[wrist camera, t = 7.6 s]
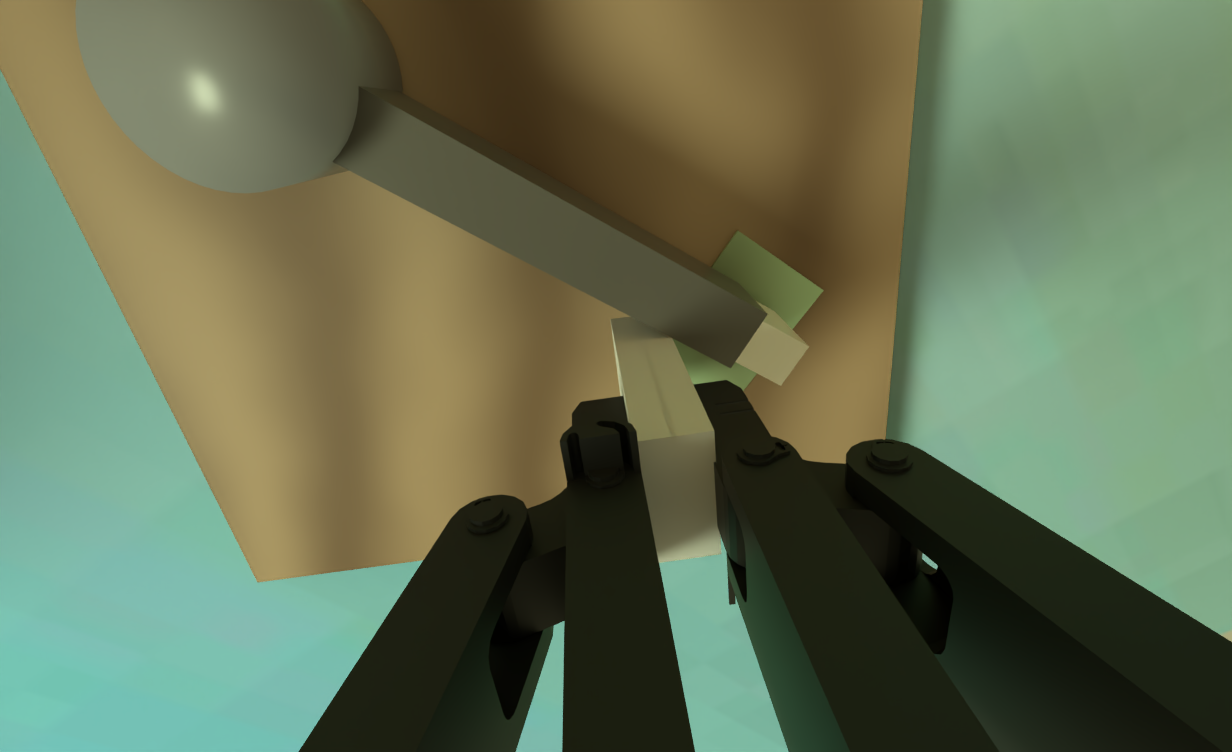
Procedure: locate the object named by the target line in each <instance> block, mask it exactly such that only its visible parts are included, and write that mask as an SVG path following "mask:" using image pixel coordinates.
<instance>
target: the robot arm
mask: <svg viewBox="0 0 1232 752" xmlns="http://www.w3.org/2000/svg"><path fill="white" fill-rule="evenodd" d="M610 320H611V327H612V335H613V343H614V350H615V358H616V366H617V373H618V381H619V389H620V396H618V397H611V398H604V399H596V400H589V401H582V402H580V403H579V405H578V406H577V407H576V409H575V410H574V411H573V413H572V426H571V427H570V428H569V429H568V430H567V431H565V432H564V433H563V434H562V437H561V439H560V447H561V453H562V458H563V463H564V469H565V474H566V480H567V487H566V488H565V489H564V490H563V491H562V492H561V493H560V494H558V495H557V496H555V497H554V498H552V499H551V500H548V501H546V502H544V503H542V504H539V505H536V506H533V507H531V508H528V509H527V508H526V506H525V504H524V502H523V501H522V500H520V499H518V498H516V497H515V496H509V495H502V494H501V495H492V496H486V497H482V498H479V499H477V500H474V501H472V502H470V503H469V504H467V505H465V506H464V507H462V508H460V509H459V510H458V511H457V512H456V513H455V514H454V515H453V517H452V518H451V519H450V520H449V522H448V523H447V525H446V526H445V528H444V530H443V531H442V533H441V534H440V536H439V537H438V539H437V540H436V542H435V543H434V545H433V546H432V548H431V549H430V551H429V553H428V554H427V556H426V557H425V559H424V560H423V562H422V563H421V565H420V566H419V568H418V569H417V571H416V572H415V574H414V576H413V577H412V579H411V580H410V582H409V583H408V585H407V586H406V588H405V589H404V591H403V592H402V594H401V596H400V597H399V599H398V600H397V602H396V603H395V605H394V606H393V608H392V609H391V611H390V612H389V614H388V615H387V617H386V619H385V620H384V622H383V623H382V625H381V626H380V628H379V629H378V631H377V632H376V634H375V635H374V637H373V638H372V640H371V642H370V643H369V645H368V646H367V648H366V649H365V651H364V652H363V654H362V655H361V657H360V658H359V660H358V661H357V663H356V665H355V666H354V668H353V669H352V671H351V672H350V674H349V675H348V677H347V678H346V680H345V681H344V683H343V684H342V686H341V688H340V689H339V691H338V692H337V694H336V695H335V697H334V698H333V700H332V701H331V703H330V704H329V706H328V707H327V709H326V711H325V712H324V714H323V715H322V717H321V718H320V720H319V721H318V723H317V724H316V726H315V727H314V729H313V730H312V732H311V734H310V735H309V737H308V738H307V740H306V741H305V743H304V744H303V746H302V747H301V749H300V750H299V752H515V751H516V748H517V745H518V742H519V739H520V736H521V733H522V730H523V727H524V724H525V720H526V717H527V714H528V711H529V708H530V705H531V702H532V699H533V696H534V692H535V689H536V686H537V683H538V680H539V677H540V674H541V671H542V668H543V665H544V661H545V658H546V655H547V652H548V649H549V646H550V643H551V640H552V637H553V626H554V625H555V624H558V623H560V622H562V621H565V629H564V689H563V749H562V752H695V749H694V744H693V739H692V734H691V728H690V723H689V718H688V713H687V707H686V702H685V697H684V692H683V687H682V681H681V676H680V671H679V666H678V660H677V655H676V650H675V645H674V640H673V634H672V629H671V624H670V619H669V613H668V608H667V603H666V598H665V593H664V587H663V582H662V577H661V572H660V566H659V563H661V562H668V561H675V560H683V559H690V558H696V557H703V556H710V555H717V554H721V540H720V535H721V538H722V541H723V543H724V546H725V549H726V552H727V570H728V589H729V605H731V604H735V596H736V599H737V602H738V605H739V608H740V610H741V613H742V616H743V619H744V622H745V625H746V628H747V631H748V634H749V637H750V640H751V643H752V646H753V648H754V651H755V654H756V657H757V660H758V663H759V666H760V669H761V672H762V675H763V678H764V681H765V684H766V686H767V689H768V692H769V695H770V698H771V701H772V704H773V707H774V710H775V713H776V716H777V719H778V721H779V724H780V727H781V730H782V733H783V736H784V739H785V742H786V745H787V748H788V751H789V752H1232V642H1231V641H1229V640H1227V639H1226V638H1224V637H1223V636H1221V635H1219V634H1218V633H1216V632H1215V631H1213V630H1211V629H1210V628H1208V627H1206V626H1205V625H1203V624H1202V623H1200V622H1198V621H1197V620H1195V619H1194V618H1192V617H1190V616H1189V615H1187V614H1185V613H1184V612H1182V611H1181V610H1179V609H1177V608H1176V607H1174V606H1173V605H1171V604H1169V603H1168V602H1166V601H1165V600H1163V599H1161V598H1160V597H1158V596H1156V595H1155V594H1153V593H1152V592H1150V591H1148V590H1147V589H1145V588H1144V587H1142V586H1140V585H1139V584H1137V583H1135V582H1134V581H1132V580H1131V579H1129V578H1127V577H1126V576H1124V575H1123V574H1121V573H1119V572H1118V571H1116V570H1115V569H1113V568H1111V567H1110V566H1108V565H1106V564H1105V563H1103V562H1102V561H1100V560H1098V559H1097V558H1095V557H1094V556H1092V555H1090V554H1089V553H1087V552H1086V551H1084V550H1082V549H1081V548H1079V547H1077V546H1076V545H1074V544H1073V543H1071V542H1069V541H1068V540H1066V539H1065V538H1063V537H1061V536H1060V535H1058V534H1056V533H1055V532H1053V531H1052V530H1050V529H1048V528H1047V527H1045V526H1044V525H1042V524H1040V523H1039V522H1037V521H1036V520H1034V519H1032V518H1031V517H1029V516H1027V515H1026V514H1024V513H1023V512H1021V511H1019V510H1018V509H1016V508H1015V507H1013V506H1011V505H1010V504H1008V503H1007V502H1005V501H1003V500H1002V499H1000V498H998V497H997V496H995V495H994V494H992V493H990V492H989V491H987V490H986V489H984V488H982V487H981V486H979V485H977V484H976V483H974V482H973V481H971V480H969V479H968V478H966V477H965V476H963V475H961V474H960V473H958V472H957V471H955V470H953V469H952V468H950V467H948V466H947V465H945V464H944V463H942V462H940V461H939V460H937V459H936V458H934V457H932V456H931V455H929V454H927V453H926V452H924V451H923V450H921V449H919V448H917V447H914V446H912V445H910V444H908V443H903V442H899V441H895V440H890V439H885V440H883V439H874V440H868V441H862V442H860V443H858V444H856V445H854V446H852V447H851V448H850V449H849V451H848V452H847V453H846V464H843V463H824V462H814V461H807V460H803V459H802V458H801V456H800V455H799V453H798V452H797V450H796V449H795V448H794V447H793V446H792V445H791V444H790V443H788V442H786V441H784V440H782V439H779V438H777V437H771V435H770V433H769V432H768V430H767V429H766V427H765V425H764V424H763V422H762V421H761V419H760V417H759V416H758V414H757V412H756V411H754V408H753V406H752V404H751V403H750V401H748V398H747V396H746V395H745V393H744V392H743V390H742V388H740V387H738V386H737V385H735V384H733V383H731V382H730V381H728V380H722V381H715V382H708V383H700V384H693V383H692V380H691V378H690V376H689V374H688V372H687V369H686V367H685V365H684V363H683V361H682V358H681V356H680V354H679V352H678V350H677V347H676V345H675V343H674V341H673V339H672V338H671V337H669V336H667V335H665V334H663V333H661V332H659V331H657V330H655V329H654V328H652V327H650V326H648V325H646V324H644V323H642V322H640V321H638V320H636V319H634V318H632V317H622V318H615V319H610ZM922 553H924V554H925V555H926V556H927V557H928V558H930V559H931V560H932V561H933V562H934V563H936V564H937V565H938V568H937V570H936V569H934V568H933V567H931V566H930V565H928V564H927V563H926V562H925V561H924V560H922Z"/></svg>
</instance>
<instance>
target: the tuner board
mask: <svg viewBox="0 0 1232 752" xmlns="http://www.w3.org/2000/svg"><path fill="white" fill-rule="evenodd" d="M361 1H362V2H363V3H364V4H365V5H366V6H367V7H368V8H369V9H370V10H371V11H372V13H373V14H374V15H375V17H376V18H377V19H378V21H379V22H380V23H381V25H382V27H383V28H384V30H385V32H386V33H387V35H388V37H389V39H390V41H391V43H392V46H393V48H394V50H395V53H396V56H397V59H398V63H399V67H400V72H401V77H402V89H403V92H402V93H403V94H405V95H407V96H409V97H411V98H412V99H414V100H416V101H418V102H419V103H421V104H423V105H425V106H426V107H428V108H430V109H432V110H434V111H435V112H437V113H439V114H441V115H442V116H444V117H446V118H448V119H449V120H451V121H453V122H455V123H457V124H458V125H460V126H462V127H464V128H465V129H467V130H469V131H471V132H472V133H474V134H476V135H478V136H480V137H481V138H483V139H485V140H487V141H488V142H490V143H492V144H494V145H495V146H497V147H499V148H501V149H503V150H504V151H506V152H508V153H510V154H511V155H513V156H515V157H517V158H518V159H520V160H522V161H524V162H526V163H527V164H529V165H531V166H533V167H534V168H536V169H538V170H540V171H541V172H543V173H545V174H547V175H549V176H550V177H552V178H554V179H556V180H557V181H559V182H561V183H563V184H565V185H566V186H568V187H570V188H572V189H573V190H575V191H577V192H579V193H580V194H582V195H584V196H586V197H588V198H589V199H591V200H593V201H595V202H596V203H598V204H600V205H602V206H603V207H605V208H607V209H609V210H611V211H612V212H614V213H616V214H618V215H619V216H621V217H623V218H625V219H626V220H628V221H630V222H632V223H634V224H635V225H637V226H639V227H641V228H642V229H644V230H646V231H648V232H649V233H651V234H653V235H655V236H657V237H658V238H660V239H662V240H664V241H665V242H667V243H669V244H671V245H672V246H674V247H676V248H678V249H680V250H681V251H683V252H685V253H687V254H688V255H690V256H692V257H694V258H695V259H697V260H699V261H701V262H703V263H704V264H706V265H708V266H710V267H711V268H713V269H715V270H717V271H718V272H720V273H722V274H724V275H726V276H727V277H729V278H731V279H733V280H734V281H736V282H738V283H739V284H740V285H741V286H742V287H743V288H744V289H745V290H746V291H747V292H748V293H749V294H750V296H751V297H752V298H753V299H754V300H755V301H757V302H759V303H761V304H762V305H764V306H766V307H768V308H770V309H771V310H773V311H775V312H776V313H777V314H778V315H779V316H780V317H781V318H782V319H783V320H784V321H785V322H786V324H787V325H788V326H789V327H790V328H791V329H792V330H793V331H794V332H795V333H796V334H797V335H798V336H799V337H800V338H801V339H802V340H803V341H804V342H805V343H806V344H807V345H808V346H809V348H808V349H807V350H806V352H805V353H804V355H803V356H802V357H801V359H800V360H799V361H798V363H797V364H796V366H795V367H794V368H793V370H792V371H791V372H790V374H789V375H788V377H787V378H786V379H785V381H784V382H783V383H782V385H781V386H780V385H778V384H776V383H775V382H773V381H771V380H769V379H767V378H765V377H763V376H761V375H759V374H757V373H755V372H753V371H752V370H750V369H748V368H746V367H744V366H742V365H740V364H738V363H736V362H735V363H734V365H733V366H732V368H729V367H727V366H725V365H723V364H721V363H719V362H717V361H715V360H713V359H711V358H709V357H708V356H706V355H704V354H702V353H700V352H698V351H696V350H694V349H692V348H690V347H688V346H686V345H684V344H682V343H681V342H679V341H677V340H675V339H673V338H672V339H673V341H674V343H675V345H676V347H677V350H678V352H679V354H680V356H681V358H682V361H683V363H684V365H685V367H686V369H687V372H688V374H689V376H690V378H691V380H692V383H693V384H700V383H708V382H715V381H722V380H728V381H730V382H731V383H733V384H735V385H737V386H738V387H740V388H742V390H743V392H744V393H745V395H746V396H747V398H748V401H750V403H751V404H752V406H753V408H754V411H756V412H757V414H758V416H759V417H760V419H761V421H762V422H763V424H764V425H765V427H766V429H767V430H768V432H769V433H770V435H771V437H777V438H779V439H782V440H784V441H786V442H788V443H790V444H791V445H792V446H793V447H794V448H795V449H796V450H797V452H798V453H799V455H800V456H801V458H802V459H803V460H807V461H814V462H824V463H843V464H846V453H847V452H848V451H849V449H850V448H851V447H852V446H854V445H856V444H858V443H860V442H862V441H868V440H874V439H883V440H885V439H886V427H887V416H888V404H889V392H890V380H891V369H892V357H893V345H894V333H895V322H896V310H897V298H898V287H899V275H900V263H901V251H902V240H903V228H904V216H905V205H906V193H907V181H908V169H909V158H910V146H911V134H912V123H913V111H914V99H915V87H916V76H917V64H918V52H919V40H920V29H921V17H922V5H923V0H361ZM75 8H76V0H0V69H1V71H2V73H3V75H4V77H5V79H6V81H7V83H8V85H9V87H10V89H11V91H12V93H13V95H14V97H15V99H16V101H17V103H18V105H19V107H20V109H21V111H22V113H23V115H24V117H25V119H26V121H27V123H28V125H29V127H30V129H31V131H32V133H33V135H34V137H35V139H36V141H37V143H38V145H39V147H40V149H41V151H42V153H43V155H44V157H45V159H46V161H47V163H48V165H49V167H50V169H51V171H52V173H53V175H54V177H55V179H56V181H57V183H58V185H59V187H60V189H61V191H62V193H63V195H64V197H65V199H66V201H67V203H68V205H69V207H70V209H71V211H72V213H73V215H74V217H75V219H76V221H77V223H78V225H79V227H80V229H81V231H82V233H83V235H84V237H85V239H86V241H87V243H88V245H89V247H90V249H91V251H92V253H93V255H94V257H95V259H96V261H97V263H98V265H99V267H100V269H101V271H102V273H103V275H104V277H105V279H106V281H107V283H108V285H109V287H110V289H111V291H112V293H113V295H114V297H115V299H116V301H117V303H118V305H119V307H120V309H121V311H122V313H123V315H124V317H125V319H126V321H127V323H128V325H129V327H130V329H131V331H132V333H133V335H134V337H135V339H136V341H137V343H138V345H139V347H140V349H141V351H142V353H143V355H144V357H145V359H146V361H147V363H148V365H149V367H150V369H151V371H152V373H153V375H154V377H155V379H156V381H157V383H158V385H159V387H160V389H161V391H162V393H163V395H164V397H165V399H166V401H167V403H168V405H169V407H170V409H171V411H172V412H173V414H174V416H175V418H176V420H177V422H178V424H179V426H180V428H181V430H182V432H183V434H184V436H185V438H186V440H187V442H188V444H189V446H190V448H191V450H192V452H193V454H194V456H195V458H196V460H197V462H198V464H199V466H200V468H201V470H202V472H203V474H204V476H205V478H206V480H207V482H208V484H209V486H210V488H211V490H212V492H213V494H214V496H215V498H216V500H217V502H218V504H219V506H220V508H221V510H222V512H223V514H224V516H225V518H226V520H227V522H228V524H229V526H230V528H231V530H232V532H233V534H234V536H235V538H236V540H237V542H238V544H239V546H240V548H241V550H242V552H243V554H244V556H245V558H246V560H247V562H248V564H249V566H250V568H251V570H252V572H253V574H254V576H255V578H256V580H257V582H264V581H271V580H279V579H286V578H294V577H301V576H308V575H316V574H323V573H331V572H338V571H346V570H353V569H360V568H368V567H375V566H383V565H390V564H398V563H405V562H412V561H420V560H424V559H425V557H426V556H427V554H428V553H429V551H430V549H431V548H432V546H433V545H434V543H435V542H436V540H437V539H438V537H439V536H440V534H441V533H442V531H443V530H444V528H445V526H446V525H447V523H448V522H449V520H450V519H451V518H452V517H453V515H454V514H455V513H456V512H457V511H458V510H459V509H460V508H462V507H464V506H465V505H467V504H469V503H470V502H472V501H474V500H477V499H479V498H482V497H486V496H492V495H501V494H502V495H509V496H515V497H516V498H518V499H520V500H522V501H523V502H524V504H525V506H526V508H527V509H528V508H531V507H533V506H536V505H539V504H542V503H544V502H546V501H548V500H551V499H552V498H554V497H555V496H557V495H558V494H560V493H561V492H562V491H563V490H564V489H565V488H566V487H567V480H566V474H565V469H564V463H563V458H562V453H561V447H560V439H561V437H562V434H563V433H564V432H565V431H567V430H568V429H569V428H570V427H571V426H572V413H573V411H574V410H575V409H576V407H577V406H578V405H579V403H580V402H582V401H589V400H596V399H604V398H611V397H618V396H620V389H619V381H618V373H617V366H616V358H615V350H614V343H613V335H612V327H611V320H610V319H615V318H622V317H630V316H628V315H627V314H625V313H623V312H621V311H619V310H617V309H615V308H613V307H611V306H609V305H607V304H605V303H603V302H601V301H600V300H598V299H596V298H594V297H592V296H590V295H588V294H586V293H584V292H582V291H580V290H578V289H576V288H574V287H573V286H571V285H569V284H567V283H565V282H563V281H561V280H559V279H557V278H555V277H553V276H551V275H549V274H547V273H546V272H544V271H542V270H540V269H538V268H536V267H534V266H532V265H530V264H528V263H526V262H524V261H522V260H521V259H519V258H517V257H515V256H513V255H511V254H509V253H507V252H505V251H503V250H501V249H499V248H497V247H495V246H494V245H492V244H490V243H488V242H486V241H484V240H482V239H480V238H478V237H476V236H474V235H472V234H470V233H468V232H467V231H465V230H463V229H461V228H459V227H457V226H455V225H453V224H451V223H449V222H447V221H445V220H443V219H441V218H440V217H438V216H436V215H434V214H432V213H430V212H428V211H426V210H424V209H422V208H420V207H418V206H416V205H414V204H413V203H411V202H409V201H407V200H405V199H403V198H401V197H399V196H397V195H395V194H393V193H391V192H389V191H387V190H386V189H384V188H382V187H380V186H378V185H376V184H374V183H372V182H370V181H368V180H366V179H364V178H362V177H360V176H359V175H357V174H355V173H353V172H351V171H346V172H342V173H338V174H334V175H329V176H325V177H321V178H317V179H313V180H309V181H305V182H301V183H297V184H293V185H289V186H285V187H281V188H277V189H273V190H269V191H264V192H257V193H231V192H225V191H219V190H214V189H211V188H207V187H204V186H201V185H198V184H196V183H193V182H191V181H188V180H186V179H184V178H182V177H180V176H178V175H176V174H175V173H173V172H171V171H169V170H167V169H166V168H164V167H163V166H162V165H160V164H159V163H157V162H156V161H154V160H153V159H152V158H150V157H149V156H148V155H147V154H146V153H144V152H143V151H142V150H141V149H140V148H138V147H137V146H136V145H135V144H134V143H133V142H132V141H131V140H130V139H129V137H128V136H127V135H126V134H125V133H124V132H123V131H122V130H121V129H120V127H119V126H118V125H117V124H116V122H115V121H114V120H113V119H112V117H111V116H110V114H109V113H108V111H107V110H106V108H105V107H104V105H103V104H102V102H101V100H100V99H99V97H98V95H97V93H96V91H95V89H94V87H93V85H92V83H91V81H90V78H89V76H88V74H87V71H86V69H85V66H84V63H83V59H82V56H81V52H80V49H79V44H78V38H77V32H76V15H75Z"/></svg>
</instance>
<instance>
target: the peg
mask: <svg viewBox="0 0 1232 752" xmlns="http://www.w3.org/2000/svg"><path fill="white" fill-rule="evenodd" d="M75 15H76V32H77V38H78V44H79V49H80V52H81V56H82V59H83V63H84V66H85V69H86V71H87V74H88V76H89V78H90V81H91V83H92V85H93V87H94V89H95V91H96V93H97V95H98V97H99V99H100V100H101V102H102V104H103V105H104V107H105V108H106V110H107V111H108V113H109V114H110V116H111V117H112V119H113V120H114V121H115V122H116V124H117V125H118V126H119V127H120V129H121V130H122V131H123V132H124V133H125V134H126V135H127V136H128V137H129V139H130V140H131V141H132V142H133V143H134V144H135V145H136V146H137V147H138V148H140V149H141V150H142V151H143V152H144V153H146V154H147V155H148V156H149V157H150V158H152V159H153V160H154V161H156V162H157V163H159V164H160V165H162V166H163V167H164V168H166V169H167V170H169V171H171V172H173V173H175V174H176V175H178V176H180V177H182V178H184V179H186V180H188V181H191V182H193V183H196V184H198V185H201V186H204V187H207V188H211V189H214V190H219V191H225V192H231V193H257V192H264V191H269V190H273V189H277V188H281V187H285V186H289V185H293V184H297V183H301V182H305V181H309V180H313V179H317V178H321V177H325V176H329V175H334V174H338V173H342V172H346V171H351V172H353V173H355V174H357V175H359V176H360V177H362V178H364V179H366V180H368V181H370V182H372V183H374V184H376V185H378V186H380V187H382V188H384V189H386V190H387V191H389V192H391V193H393V194H395V195H397V196H399V197H401V198H403V199H405V200H407V201H409V202H411V203H413V204H414V205H416V206H418V207H420V208H422V209H424V210H426V211H428V212H430V213H432V214H434V215H436V216H438V217H440V218H441V219H443V220H445V221H447V222H449V223H451V224H453V225H455V226H457V227H459V228H461V229H463V230H465V231H467V232H468V233H470V234H472V235H474V236H476V237H478V238H480V239H482V240H484V241H486V242H488V243H490V244H492V245H494V246H495V247H497V248H499V249H501V250H503V251H505V252H507V253H509V254H511V255H513V256H515V257H517V258H519V259H521V260H522V261H524V262H526V263H528V264H530V265H532V266H534V267H536V268H538V269H540V270H542V271H544V272H546V273H547V274H549V275H551V276H553V277H555V278H557V279H559V280H561V281H563V282H565V283H567V284H569V285H571V286H573V287H574V288H576V289H578V290H580V291H582V292H584V293H586V294H588V295H590V296H592V297H594V298H596V299H598V300H600V301H601V302H603V303H605V304H607V305H609V306H611V307H613V308H615V309H617V310H619V311H621V312H623V313H625V314H627V315H628V316H630V317H632V318H634V319H636V320H638V321H640V322H642V323H644V324H646V325H648V326H650V327H652V328H654V329H655V330H657V331H659V332H661V333H663V334H665V335H667V336H669V337H671V338H673V339H675V340H677V341H679V342H681V343H682V344H684V345H686V346H688V347H690V348H692V349H694V350H696V351H698V352H700V353H702V354H704V355H706V356H708V357H709V358H711V359H713V360H715V361H717V362H719V363H721V364H723V365H725V366H727V367H729V368H732V366H733V365H734V363H735V362H736V363H738V364H740V365H742V366H744V367H746V368H748V369H750V370H752V371H753V372H755V373H757V374H759V375H761V376H763V377H765V378H767V379H769V380H771V381H773V382H775V383H776V384H778V385H780V386H781V385H782V383H783V382H784V381H785V379H786V378H787V377H788V375H789V374H790V372H791V371H792V370H793V368H794V367H795V366H796V364H797V363H798V361H799V360H800V359H801V357H802V356H803V355H804V353H805V352H806V350H807V349H808V348H809V346H808V345H807V344H806V343H805V342H804V341H803V340H802V339H801V338H800V337H799V336H798V335H797V334H796V333H795V332H794V331H793V330H792V329H791V328H790V327H789V326H788V325H787V324H786V322H785V321H784V320H783V319H782V318H781V317H780V316H779V315H778V314H777V313H776V312H775V311H773V310H771V309H770V308H768V307H766V306H764V305H762V304H761V303H759V302H757V301H755V300H754V299H753V298H752V297H751V296H750V294H749V293H748V292H747V291H746V290H745V289H744V288H743V287H742V286H741V285H740V284H739V283H738V282H736V281H734V280H733V279H731V278H729V277H727V276H726V275H724V274H722V273H720V272H718V271H717V270H715V269H713V268H711V267H710V266H708V265H706V264H704V263H703V262H701V261H699V260H697V259H695V258H694V257H692V256H690V255H688V254H687V253H685V252H683V251H681V250H680V249H678V248H676V247H674V246H672V245H671V244H669V243H667V242H665V241H664V240H662V239H660V238H658V237H657V236H655V235H653V234H651V233H649V232H648V231H646V230H644V229H642V228H641V227H639V226H637V225H635V224H634V223H632V222H630V221H628V220H626V219H625V218H623V217H621V216H619V215H618V214H616V213H614V212H612V211H611V210H609V209H607V208H605V207H603V206H602V205H600V204H598V203H596V202H595V201H593V200H591V199H589V198H588V197H586V196H584V195H582V194H580V193H579V192H577V191H575V190H573V189H572V188H570V187H568V186H566V185H565V184H563V183H561V182H559V181H557V180H556V179H554V178H552V177H550V176H549V175H547V174H545V173H543V172H541V171H540V170H538V169H536V168H534V167H533V166H531V165H529V164H527V163H526V162H524V161H522V160H520V159H518V158H517V157H515V156H513V155H511V154H510V153H508V152H506V151H504V150H503V149H501V148H499V147H497V146H495V145H494V144H492V143H490V142H488V141H487V140H485V139H483V138H481V137H480V136H478V135H476V134H474V133H472V132H471V131H469V130H467V129H465V128H464V127H462V126H460V125H458V124H457V123H455V122H453V121H451V120H449V119H448V118H446V117H444V116H442V115H441V114H439V113H437V112H435V111H434V110H432V109H430V108H428V107H426V106H425V105H423V104H421V103H419V102H418V101H416V100H414V99H412V98H411V97H409V96H407V95H405V94H403V93H402V92H403V89H402V77H401V72H400V67H399V63H398V59H397V56H396V53H395V50H394V48H393V46H392V43H391V41H390V39H389V37H388V35H387V33H386V32H385V30H384V28H383V27H382V25H381V23H380V22H379V21H378V19H377V18H376V17H375V15H374V14H373V13H372V11H371V10H370V9H369V8H368V7H367V6H366V5H365V4H364V3H363V2H362V1H361V0H76V8H75Z"/></svg>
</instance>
